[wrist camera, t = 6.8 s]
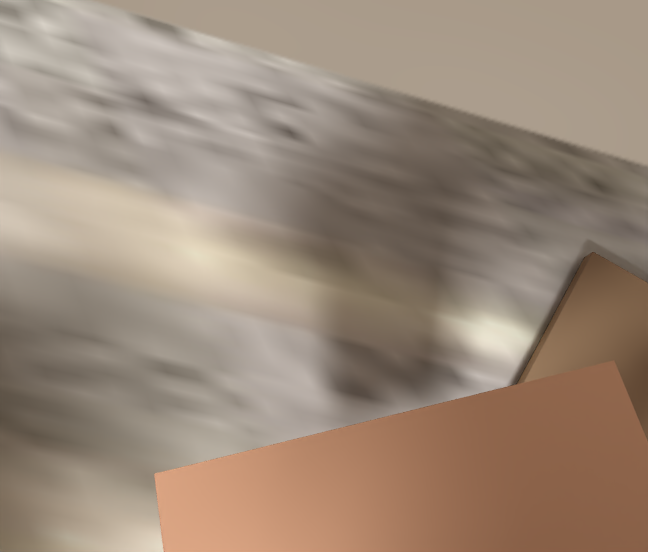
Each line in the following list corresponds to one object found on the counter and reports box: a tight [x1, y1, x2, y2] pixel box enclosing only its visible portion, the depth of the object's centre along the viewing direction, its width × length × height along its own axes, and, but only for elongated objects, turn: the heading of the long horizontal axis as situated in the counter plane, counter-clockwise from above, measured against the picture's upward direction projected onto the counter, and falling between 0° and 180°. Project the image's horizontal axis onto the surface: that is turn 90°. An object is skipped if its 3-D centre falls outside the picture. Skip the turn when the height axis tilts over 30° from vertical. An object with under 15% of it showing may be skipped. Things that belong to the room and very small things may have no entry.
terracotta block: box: [154, 360, 648, 552], centre depth 10 cm, size 4×4×12 cm
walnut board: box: [517, 252, 648, 441], centre depth 21 cm, size 10×10×1 cm
